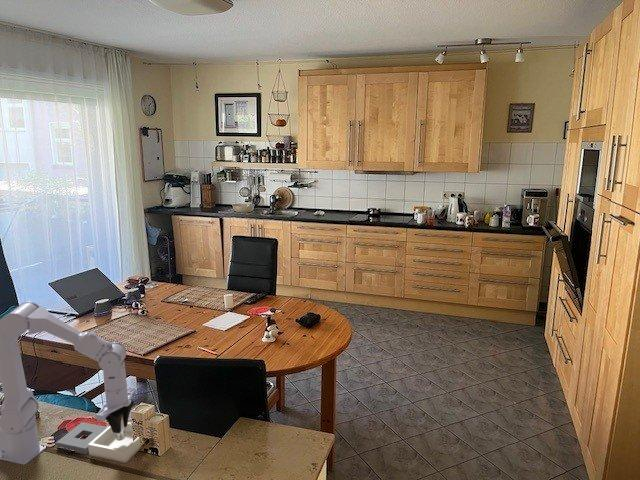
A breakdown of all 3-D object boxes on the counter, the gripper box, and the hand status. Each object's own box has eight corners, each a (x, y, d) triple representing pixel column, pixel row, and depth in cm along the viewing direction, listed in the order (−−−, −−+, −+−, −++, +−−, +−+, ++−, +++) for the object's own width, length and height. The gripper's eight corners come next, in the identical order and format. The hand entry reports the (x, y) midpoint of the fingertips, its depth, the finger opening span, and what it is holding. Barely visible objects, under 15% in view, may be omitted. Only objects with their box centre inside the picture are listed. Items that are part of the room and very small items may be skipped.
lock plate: (56, 448, 134) (56, 442, 134) (82, 427, 143) (81, 422, 143) (86, 454, 132) (85, 448, 131) (110, 433, 141) (109, 427, 140)
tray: (89, 455, 131) (87, 444, 130) (117, 429, 143) (116, 419, 142) (125, 463, 128) (124, 452, 128) (151, 436, 140) (151, 426, 139)
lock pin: (114, 439, 134) (112, 416, 132) (119, 434, 136) (117, 412, 135) (121, 441, 133) (119, 418, 132) (126, 436, 136) (124, 413, 134)
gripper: (110, 402, 123) (114, 447, 126) (143, 376, 137) (147, 417, 140) (88, 398, 125) (92, 443, 128) (123, 372, 139) (127, 413, 142)
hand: (119, 429), depth 134 cm, fingers closed on lock pin, 2 cm apart
